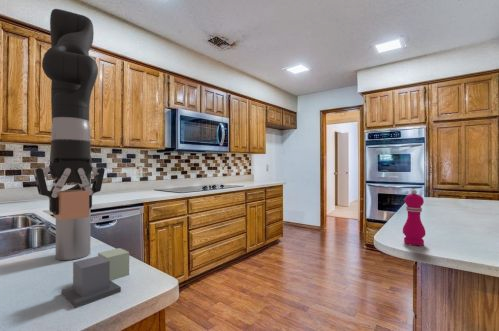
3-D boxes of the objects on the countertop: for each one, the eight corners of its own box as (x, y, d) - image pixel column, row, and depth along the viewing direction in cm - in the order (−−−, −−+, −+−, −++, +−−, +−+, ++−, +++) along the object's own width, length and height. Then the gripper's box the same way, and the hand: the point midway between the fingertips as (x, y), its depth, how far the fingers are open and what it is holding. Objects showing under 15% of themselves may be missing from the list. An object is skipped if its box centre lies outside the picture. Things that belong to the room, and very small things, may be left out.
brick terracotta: (53, 217, 61) (53, 191, 61) (80, 214, 65) (80, 189, 65) (61, 220, 58) (61, 192, 58) (89, 216, 62) (89, 190, 62)
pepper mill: (425, 247, 93) (426, 190, 93) (402, 244, 97) (402, 189, 97) (425, 242, 100) (425, 189, 100) (402, 239, 103) (403, 188, 103)
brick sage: (98, 276, 69) (98, 252, 69) (119, 269, 73) (119, 247, 73) (107, 282, 66) (107, 257, 66) (129, 274, 70) (129, 252, 70)
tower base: (61, 293, 59) (61, 262, 59) (104, 280, 66) (104, 252, 66) (75, 307, 54) (75, 273, 54) (120, 291, 60) (120, 260, 60)
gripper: (98, 142, 69) (98, 207, 69) (28, 138, 58) (27, 215, 58) (110, 140, 65) (110, 210, 64) (36, 135, 54) (36, 219, 53)
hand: (71, 212), depth 61 cm, fingers closed on brick terracotta, 5 cm apart
